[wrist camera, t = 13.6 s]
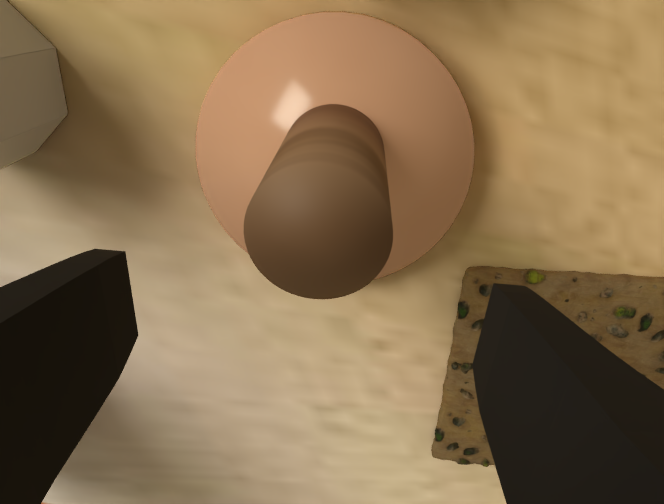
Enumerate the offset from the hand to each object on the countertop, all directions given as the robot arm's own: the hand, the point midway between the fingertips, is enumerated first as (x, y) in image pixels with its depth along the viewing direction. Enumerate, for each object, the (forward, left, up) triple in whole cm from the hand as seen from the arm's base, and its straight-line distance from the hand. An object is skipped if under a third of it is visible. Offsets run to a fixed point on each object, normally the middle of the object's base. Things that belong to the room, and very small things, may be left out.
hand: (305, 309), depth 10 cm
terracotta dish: (0, 0, -10) cm, 10 cm away
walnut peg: (0, 0, -9) cm, 9 cm away
